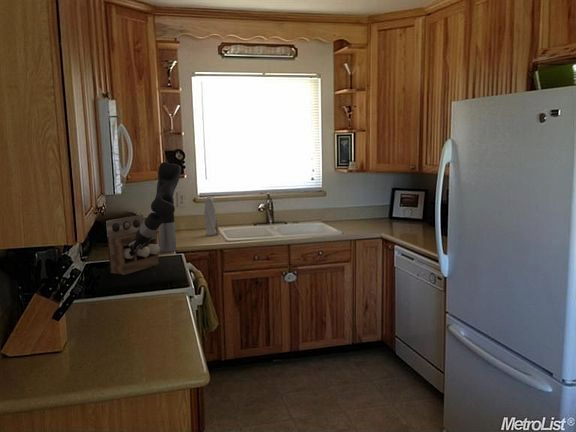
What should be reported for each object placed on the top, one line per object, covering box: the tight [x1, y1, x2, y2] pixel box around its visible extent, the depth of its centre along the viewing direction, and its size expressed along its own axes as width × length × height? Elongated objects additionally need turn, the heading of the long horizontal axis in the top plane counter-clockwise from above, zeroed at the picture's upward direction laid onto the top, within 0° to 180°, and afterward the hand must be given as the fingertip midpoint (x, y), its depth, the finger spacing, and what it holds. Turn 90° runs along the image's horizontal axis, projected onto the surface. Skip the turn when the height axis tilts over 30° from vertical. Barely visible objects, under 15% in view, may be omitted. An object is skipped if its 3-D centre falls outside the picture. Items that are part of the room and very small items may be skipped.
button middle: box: [136, 247, 150, 257], centre depth 249 cm, size 7×5×5 cm
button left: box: [124, 248, 133, 259], centre depth 246 cm, size 7×5×5 cm
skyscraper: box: [202, 194, 220, 237], centre depth 343 cm, size 8×8×28 cm
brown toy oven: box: [105, 214, 160, 276], centre depth 252 cm, size 10×23×26 cm, turn 148°
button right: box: [146, 243, 161, 255], centre depth 255 cm, size 7×5×5 cm
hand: (131, 254), depth 244 cm, fingers closed
